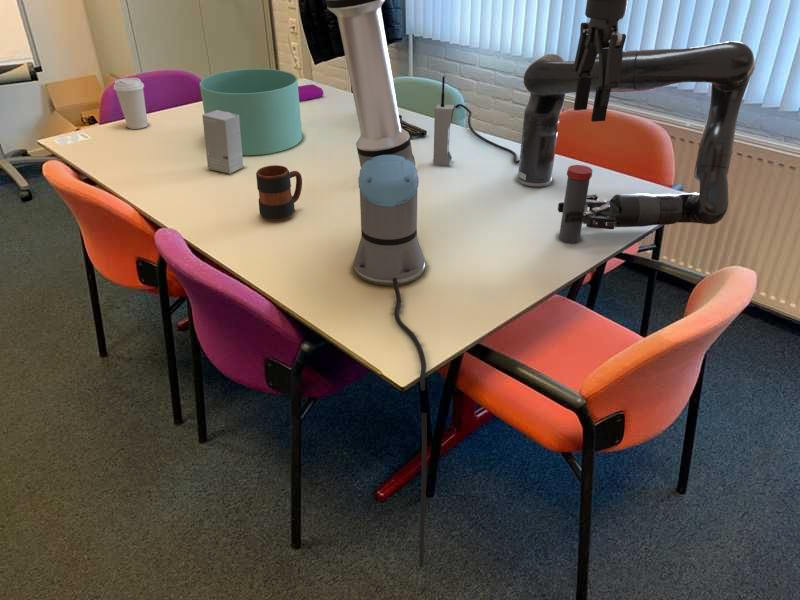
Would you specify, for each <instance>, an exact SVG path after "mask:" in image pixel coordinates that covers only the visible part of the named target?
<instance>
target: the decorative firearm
mask: <svg viewBox="0 0 800 600" xmlns="http://www.w3.org/2000/svg"><path fill="white" fill-rule="evenodd" d="M399 119H400V125H401V128H402V129H404V130H405V131H407V132H408V133H409V136H411V137H415V138H416V137H419V138H424V137H426V136H427V132H428V130H426V129H423V128H421V127H420V126H416V125H413V124H411V123H409V122H406V121H405V120H403V115H401V114H399Z"/></svg>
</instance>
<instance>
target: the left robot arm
mask: <svg viewBox="0 0 800 600" xmlns="http://www.w3.org/2000/svg"><path fill="white" fill-rule="evenodd" d="M385 2H386V0H325V3H326V9H327V10H329V11H330V12H331V13H332V14H334V15H335V16H336V17H337V23H338V28H339V32H340V37H341V42H342V46H343V51H344V57H345V61H346V66H347V71H348V77H349V81H350V85H351V91H352V96H353V101H354V105H355V111H356V116H357V121H358V125H359V130H360V137H358V139H357V141H356V143H355V146H356V151H357V157H358V160H359V165H360V169H359V175H358V188H359V205H360V207H359V208H360V239H359V242H358V247H357V249H356V252H355V256H354V259H353V270H354V273H355V275H356V276H357V277H358V278H359V279H360V280H362V281H364V282H366V283H369V284H370V285H371V284H372V285H376V286H382V287H393V288H394V292H395V298H396V303H395V308H394V319H395V322H396V323H397V325H398V326H399V327H400V329H402V330H403V331H404V332H405V333H406V334H407V335H408V336H409V337H410V338H411V340H412V341H413V344H414V345H415V347H416V350H417V352H418V356H419V360H420V375H419V386H420V387H419V389H420V391H422V392H425V390H426V373H427V361H426V355H425V352H424V349H423V347H422V345H421V343H420V341H419V339H418V338H417V335H415V333H414V332H413V331H412V330H411V329H410V328H409V327H408V326H407V325H406V324H405V323H404V322H403V321H402V320H401V317H400V309H401V303H402V296H401V292H400V288H399V286H402V285H406V284H410V283H413V282H415V281H417V280H418V279H420V278H421V276H423V274H424V273H425V270H426V261H425V255H424V252H423V250H422V247H421V244H420V241H419V238H418V188H419V184H420V183H419V182H420V181H419V175H418V169H417V167H416V165H417V164H416V159H415V155H414V154H413V148H412V143H411V137H410V136H411V135H409V133H408V132H407V131H405V130H404V129H402V128H401V125H400V119H399V115H400V113H399V107H398V103H397V95H396V90H395V83H394V78H393V72H392V66H391V60H390V54H389V49H388V42H387V37H386V30H385V24H384V19H383V12H382V5H384V3H385ZM628 2H629V0H586V6H585V12H584V15H585V17H586V18H587V19H589V21H588V22H581V23H580V29H579V30H580V32H579V34H580V35H579V38H578V43H577V49H576V53H575V56H574V57H575V58H574V61H575V62H574V67H573V71H574V72H577V77H578V83H577V89H576V92H575V95H574V96H575V98H574V105H573V110H574V111H586V110H588V105H589V97H590V93H591V92H590V86H591V79H592V78H587V77H591V76H593V75H592V73H591V70H592V68H593V65H594V62H595V60H596V57H598V56H599V87H596V92H595V95H594V100H593V107H592V113H591V122H594V123H595V122H605V121H606V117H607V111H608V106H609V102H610V96H611V92H610V91H611V89H613V88H618V87H619V80H620V71H621V62H622V53H623V51H624V47H625V42H626V39H627V34H626V33H620V32H619V21H620V20H622V19H624V18H625V17H626V14H627V9H628V8H627V7H628ZM427 459H428V413H427V412H421V478H420V479H421V484H420V515H419V516H420V517H419V520H420V521H419V551H418V553H419V554H418V556H419V558H418V567H419V568H423V567H424V558H425V557H424V554H425V525H426V524H425V522H426V499H427V496H426V495H427V468H428V467H427V463H428V461H427Z"/></svg>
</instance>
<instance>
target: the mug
mask: <svg viewBox="0 0 800 600" xmlns="http://www.w3.org/2000/svg"><path fill="white" fill-rule="evenodd" d="M255 176H256V178H255V179H256V187H257V188H256V189H257V190H258V211H259V215H260V217H261V218H262V219H263V220H264V221H267V222H272V223H273V222H275V223H276V222H277V223H278V222H283V221H287V220H289V219H291V218H292V217H293V215H294V213H295V211H296V210H295V209H296V208H295V203H296V202H298V200H299V199H300V197H301V194H302V187H303V177H302V174H301V173H300V172H299V171H298V170H291V171H289V169H288V167H286V166H283V165H277V164H274V165H268V166H263V167H260V168H259V169H257V171H256V173H255ZM294 177H295V189H294V192H293V194H292V188H291V187H292V182H291V179H292V178H294Z"/></svg>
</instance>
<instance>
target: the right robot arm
mask: <svg viewBox="0 0 800 600" xmlns="http://www.w3.org/2000/svg"><path fill="white" fill-rule="evenodd" d="M574 62H575V60H573V61H571V60H570V61H569V60H567V61H566V60H564V58H563V57H562V56H560V55H559V54H554V53H548V54H545V55H542V56H541V57H538V58H537V59H536V60H534V61H533V62H531V64H530V65H528V67H527V69H526V70H525V72H524V74H523V84H524V87H525V89H526V90H527V91H528V92H529V93H530V94H529V99H528V101H527V104H526V106H525V108H524V112H523V123H522V134H521V142H520V143H521V144H520V153H519V159H518V156H517V153H516V152H515V151H514V150H512V149H510V148H507V147H505V146H502V145H500V144H498V143H495V142H493V141H491V140H489V139H487V138H485V137H484V136H482V135H481V134H479V133H478V132H476V131H475V130H474V128H473V127H472V123H471V117H472V115H473V114H472V111H471V110H470V109H469V107H467V106H466V105H464V104H462V103H458V104H456V105H455V108H456V109H457V108H459V107H461V108H462V109H464V110H465V111H466V112H467V113H468V117H467V125H468V127H469V130H470V132H471V133H472V134H473V135H475V136H476V137H477V138H478V139H480V140H482V141H484V142H485V143H487V144H489V145H492V146H493V147H495V148H498V149H500V150H503V151H505V152H508V153H510V154H511V155H513V162H514V163H515V164H518V172H517V176H516V180H517V182H518V183H519V184H521V185H523V186H526V187H533V188H541V187H546V186H547V187H548V186H549V185H551V183H552V181H553V171H554V170H553V169H554V162H555V155H556V147H557V141H558V133H559V124H560V117H561V114H562V111H563V108H564V104H565V98H566V94H572V93H573V94H574V93H576V89H577V83H578V77H577V72H574V71H573V67H574ZM755 63H756V62H755V56H754V52H753V51H752V49H751V48H750V47H749V45H747V44H746V43H743V42H741V41H734V40H733V41H724V42H719V43H713V44H707V45H701V46H695V47H688V48H660V49H659V48H655V49H634V50H623V53H622V62H621V71H620V80H619V87H618V88H613V89H611V91H610V93H632V92H645V91H651V90H656V89H660V88H664V87H667V86H671V85H676V84H682V83H707V84H710V101H709V110H708V114H707V118H706V122H705V126H704V128H703V131H702V135H701V138H700V142H699V146H698V149H697V155H696V160H695V165H694V170H693V171H694V173H693V175H694V179H695V180H696V181H698V183H699V190H698V191H699V192H690V193H689V192H688V193H679V194H674V193H673V194H672V193H660V194H659V193H658V194H657V193H656V194H653V193H652V194H651V193H620V194H619V193H618V194H617V193H616V194H614V195H613V196H612V197H611V199H609V200H605V199H598V198H599V195H598V194H587V198H586V204H585V210H584V212H583V214H582V212H567V213H565V216H564V221H565V222H566V223H572V222H581V223H582V225H585V226H586V228H591V229H601V230H602V229H603V230H604V229H605V230H614V229H615V228H638V227H639V228H640V227H642V228H643V227H649V226H663V225H664V226H668V225H674V224H679V223H681V224H682V223H684V224H685V223H689V224H691V223H692V224H702V225H715V224H718V223H719V222H720V221H722V219H723V218H724V217H725V216H726V214H727V211H728V207H729V182H728V174H729V170H730V165H731V159H732V154H733V148H734V143H735V135H736V129H737V122H738V118H739V113H740V109H741V106H742V102H743V99H744V97H745V96H744V95H745V94H746V90H747V87H748V85H749V82H750V80H751V78H752V75H753V74H754V71H755V65H756V64H755ZM591 73H592V75H593V76H591V77H587V78H592V79H591V86H590V92H589V93H596V87H599V55H597V57H596V60H595V62H594V65H593V68H592V70H591ZM563 207H564V202H559V203H557V211H558V213H563Z"/></svg>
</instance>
